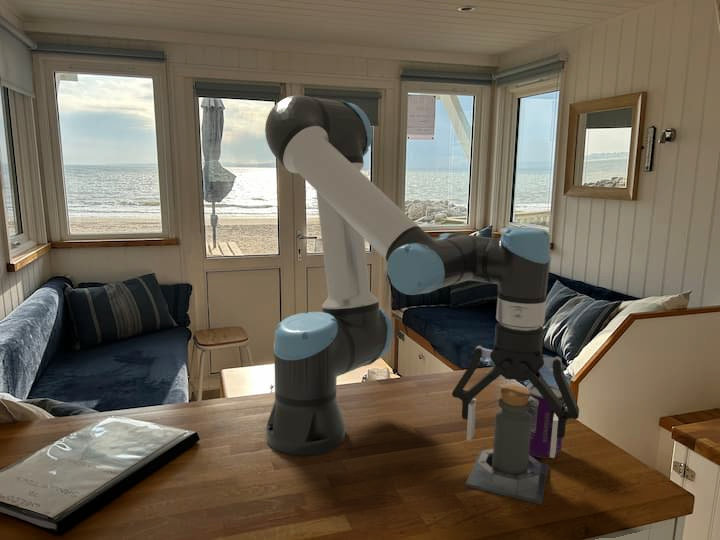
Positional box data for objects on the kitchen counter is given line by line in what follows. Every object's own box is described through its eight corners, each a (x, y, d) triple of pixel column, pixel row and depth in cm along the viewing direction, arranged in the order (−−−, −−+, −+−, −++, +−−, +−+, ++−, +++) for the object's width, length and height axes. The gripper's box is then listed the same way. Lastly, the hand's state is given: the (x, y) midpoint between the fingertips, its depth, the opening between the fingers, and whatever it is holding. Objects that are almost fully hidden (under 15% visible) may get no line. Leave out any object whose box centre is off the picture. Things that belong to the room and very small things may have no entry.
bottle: (531, 483, 93) (538, 398, 90) (495, 482, 93) (501, 397, 90) (522, 465, 98) (528, 384, 95) (488, 464, 98) (493, 383, 96)
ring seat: (465, 486, 93) (466, 472, 92) (480, 452, 103) (480, 439, 103) (541, 504, 88) (542, 489, 88) (548, 467, 99) (549, 453, 98)
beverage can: (563, 463, 100) (569, 400, 98) (522, 458, 102) (527, 396, 99) (557, 444, 107) (563, 385, 105) (519, 440, 109) (523, 381, 106)
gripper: (438, 320, 92) (432, 439, 96) (603, 341, 82) (589, 473, 87) (449, 309, 99) (443, 421, 103) (603, 328, 89) (590, 450, 93)
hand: (510, 445), depth 95 cm, fingers open, 13 cm apart
